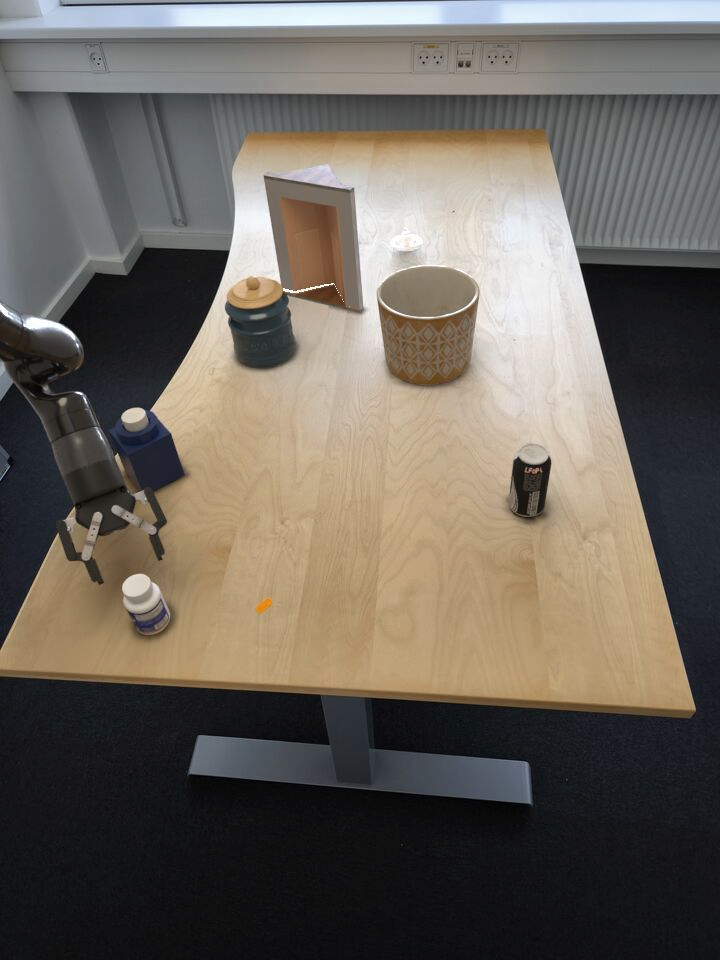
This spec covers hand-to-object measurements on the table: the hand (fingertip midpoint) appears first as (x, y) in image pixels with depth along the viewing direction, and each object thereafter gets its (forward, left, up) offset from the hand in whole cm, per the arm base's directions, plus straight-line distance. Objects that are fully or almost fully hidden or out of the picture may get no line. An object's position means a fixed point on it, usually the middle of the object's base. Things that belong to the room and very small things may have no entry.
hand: (131, 571), depth 104 cm
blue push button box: (+14, +27, -9) cm, 31 cm away
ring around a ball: (+99, +60, -9) cm, 115 cm away
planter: (+72, +20, -9) cm, 75 cm away
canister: (+49, +46, -9) cm, 67 cm away
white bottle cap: (+14, +27, +3) cm, 30 cm away
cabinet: (+73, +56, -9) cm, 92 cm away
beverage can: (+58, -21, -9) cm, 62 cm away
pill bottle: (0, -2, -9) cm, 9 cm away
